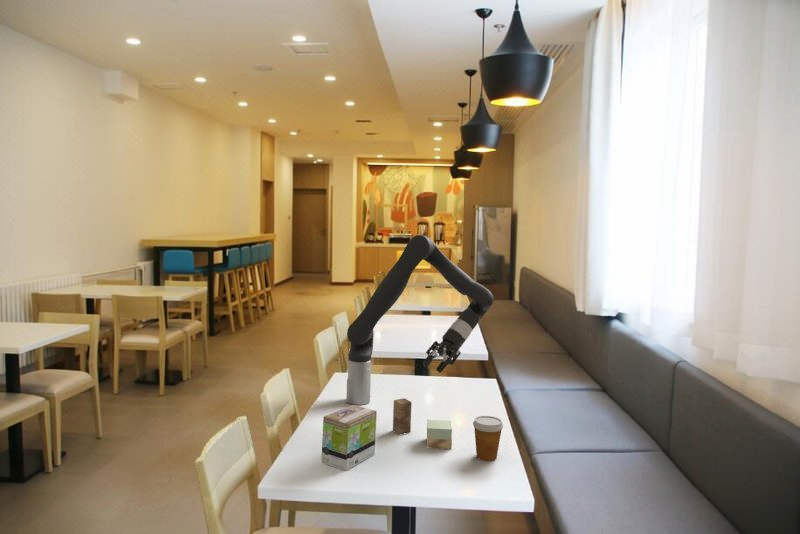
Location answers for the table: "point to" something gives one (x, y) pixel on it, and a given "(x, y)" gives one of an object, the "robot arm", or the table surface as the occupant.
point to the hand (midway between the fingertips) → (431, 368)
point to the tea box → (348, 436)
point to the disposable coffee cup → (487, 436)
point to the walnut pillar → (402, 416)
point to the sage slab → (439, 429)
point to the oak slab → (439, 443)
